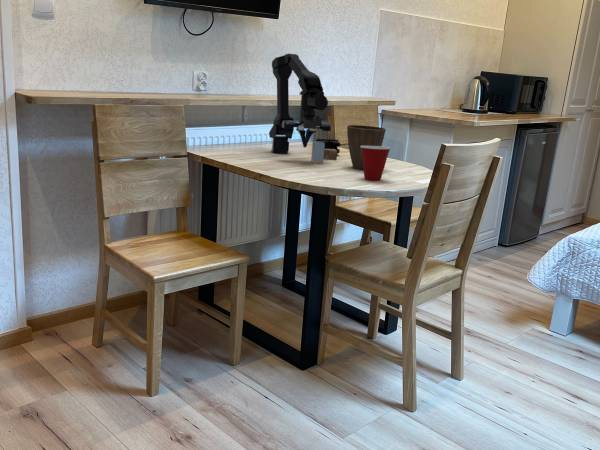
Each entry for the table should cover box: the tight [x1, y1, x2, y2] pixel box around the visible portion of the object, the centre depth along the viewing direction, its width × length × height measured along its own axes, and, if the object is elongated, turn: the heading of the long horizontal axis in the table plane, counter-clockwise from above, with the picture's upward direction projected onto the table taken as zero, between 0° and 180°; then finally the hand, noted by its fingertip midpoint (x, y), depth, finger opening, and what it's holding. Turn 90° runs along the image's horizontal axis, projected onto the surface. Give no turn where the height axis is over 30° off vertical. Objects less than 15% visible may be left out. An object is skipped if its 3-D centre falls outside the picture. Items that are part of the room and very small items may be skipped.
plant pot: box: [346, 124, 387, 171], centre depth 230 cm, size 15×15×16 cm
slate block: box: [310, 140, 325, 164], centre depth 237 cm, size 4×4×8 cm
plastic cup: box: [360, 145, 392, 182], centre depth 209 cm, size 11×11×12 cm
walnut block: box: [323, 149, 338, 161], centre depth 248 cm, size 4×4×8 cm
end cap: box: [314, 138, 341, 157], centre depth 259 cm, size 10×7×7 cm
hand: (304, 147), depth 236 cm, fingers closed
